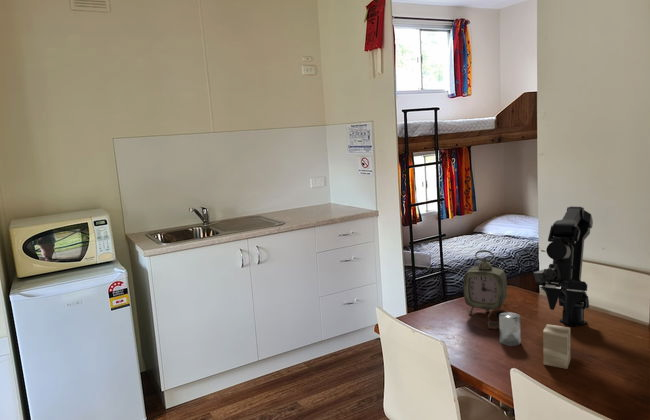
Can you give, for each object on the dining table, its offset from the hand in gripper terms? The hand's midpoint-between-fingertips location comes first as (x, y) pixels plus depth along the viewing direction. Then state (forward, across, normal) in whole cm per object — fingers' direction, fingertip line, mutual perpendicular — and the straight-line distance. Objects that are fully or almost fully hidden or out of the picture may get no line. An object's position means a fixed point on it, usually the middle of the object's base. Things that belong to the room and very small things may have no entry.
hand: (559, 311), depth 155 cm
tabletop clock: (+6, -35, -9) cm, 37 cm away
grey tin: (+12, -10, -10) cm, 19 cm away
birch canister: (+15, +6, -4) cm, 16 cm away
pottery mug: (+9, -22, -8) cm, 25 cm away
